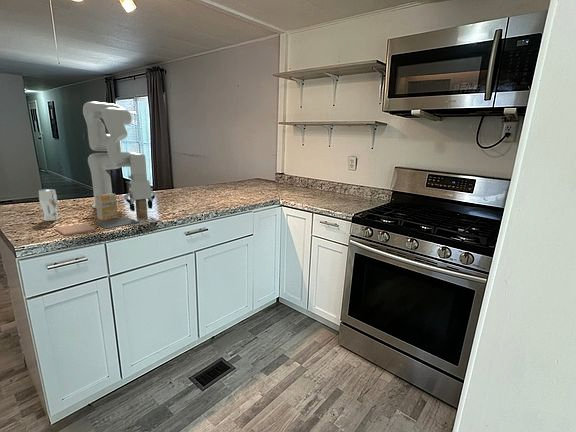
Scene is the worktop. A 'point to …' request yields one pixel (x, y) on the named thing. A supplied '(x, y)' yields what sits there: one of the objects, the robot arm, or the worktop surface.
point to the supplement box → (106, 206)
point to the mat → (116, 222)
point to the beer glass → (49, 204)
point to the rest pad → (75, 229)
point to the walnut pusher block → (141, 208)
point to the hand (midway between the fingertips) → (141, 209)
